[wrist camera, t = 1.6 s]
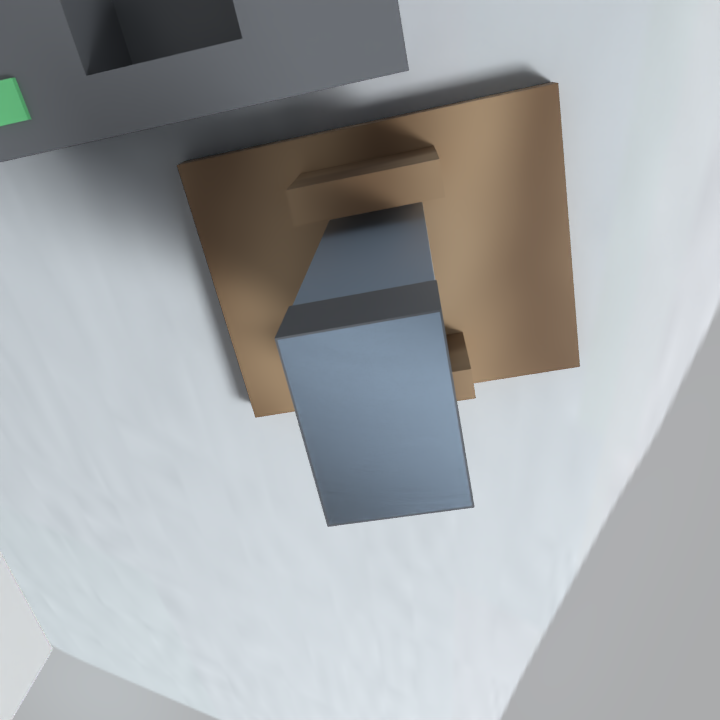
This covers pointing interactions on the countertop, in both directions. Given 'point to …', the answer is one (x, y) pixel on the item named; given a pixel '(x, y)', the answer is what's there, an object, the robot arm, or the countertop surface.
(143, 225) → the countertop surface
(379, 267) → the plug
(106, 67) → the port box
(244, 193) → the holster
